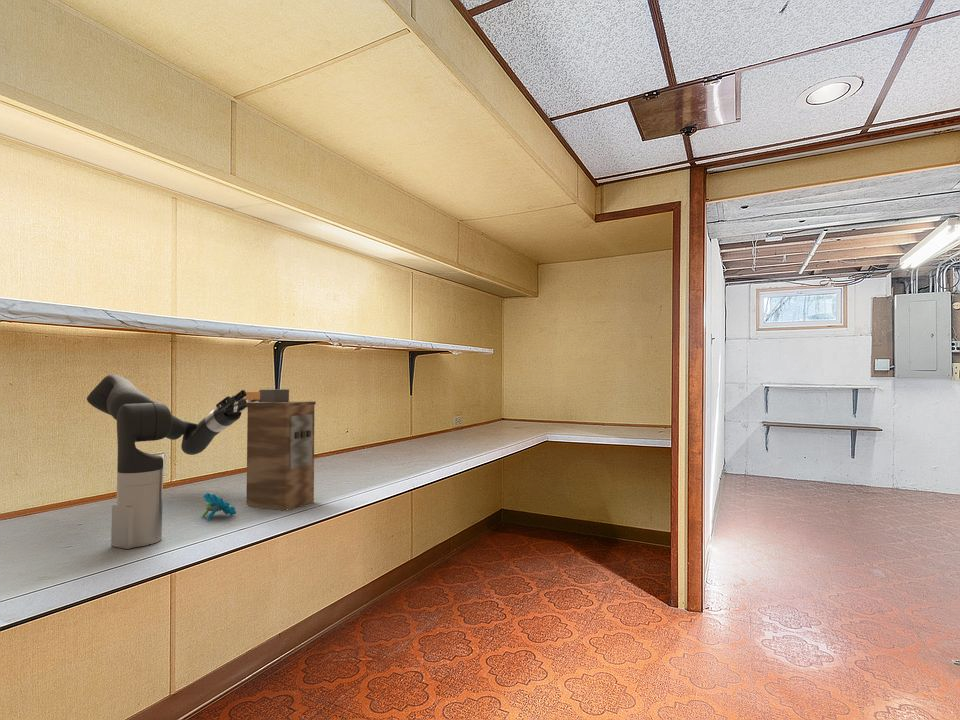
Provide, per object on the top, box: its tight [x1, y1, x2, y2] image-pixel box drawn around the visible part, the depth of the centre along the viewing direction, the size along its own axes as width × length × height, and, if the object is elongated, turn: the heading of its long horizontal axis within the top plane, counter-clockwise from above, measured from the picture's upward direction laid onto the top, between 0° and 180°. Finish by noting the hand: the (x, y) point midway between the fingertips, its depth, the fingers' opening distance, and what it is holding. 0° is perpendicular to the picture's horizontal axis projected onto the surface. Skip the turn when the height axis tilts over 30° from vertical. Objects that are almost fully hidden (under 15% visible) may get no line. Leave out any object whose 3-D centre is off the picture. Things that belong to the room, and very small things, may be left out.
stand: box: [245, 400, 317, 511], centre depth 158 cm, size 13×18×32 cm
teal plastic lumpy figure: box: [201, 492, 237, 521], centre depth 141 cm, size 11×6×10 cm
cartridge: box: [245, 388, 290, 403], centre depth 162 cm, size 5×18×4 cm, turn 55°
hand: (254, 392), depth 164 cm, fingers open, 7 cm apart
